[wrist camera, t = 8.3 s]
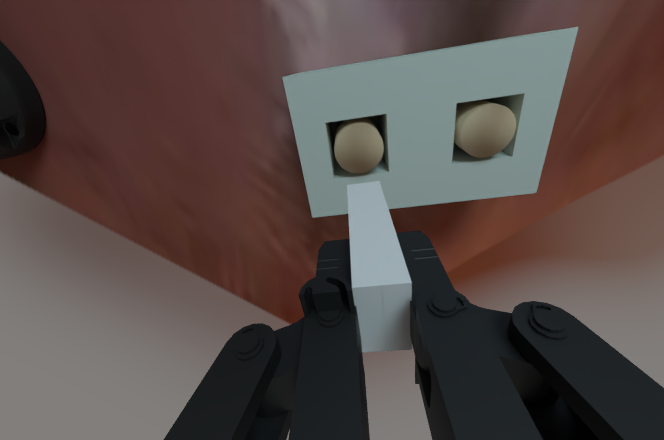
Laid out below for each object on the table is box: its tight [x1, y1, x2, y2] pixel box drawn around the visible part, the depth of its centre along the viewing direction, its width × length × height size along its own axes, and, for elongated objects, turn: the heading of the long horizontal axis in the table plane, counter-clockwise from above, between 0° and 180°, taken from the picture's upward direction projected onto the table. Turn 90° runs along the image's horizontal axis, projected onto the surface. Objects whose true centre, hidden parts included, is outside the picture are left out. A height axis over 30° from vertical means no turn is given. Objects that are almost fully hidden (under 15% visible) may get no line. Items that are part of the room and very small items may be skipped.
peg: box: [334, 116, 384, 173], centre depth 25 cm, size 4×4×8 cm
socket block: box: [283, 27, 578, 218], centre depth 26 cm, size 20×12×9 cm, turn 98°
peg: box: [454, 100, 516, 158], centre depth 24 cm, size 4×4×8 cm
